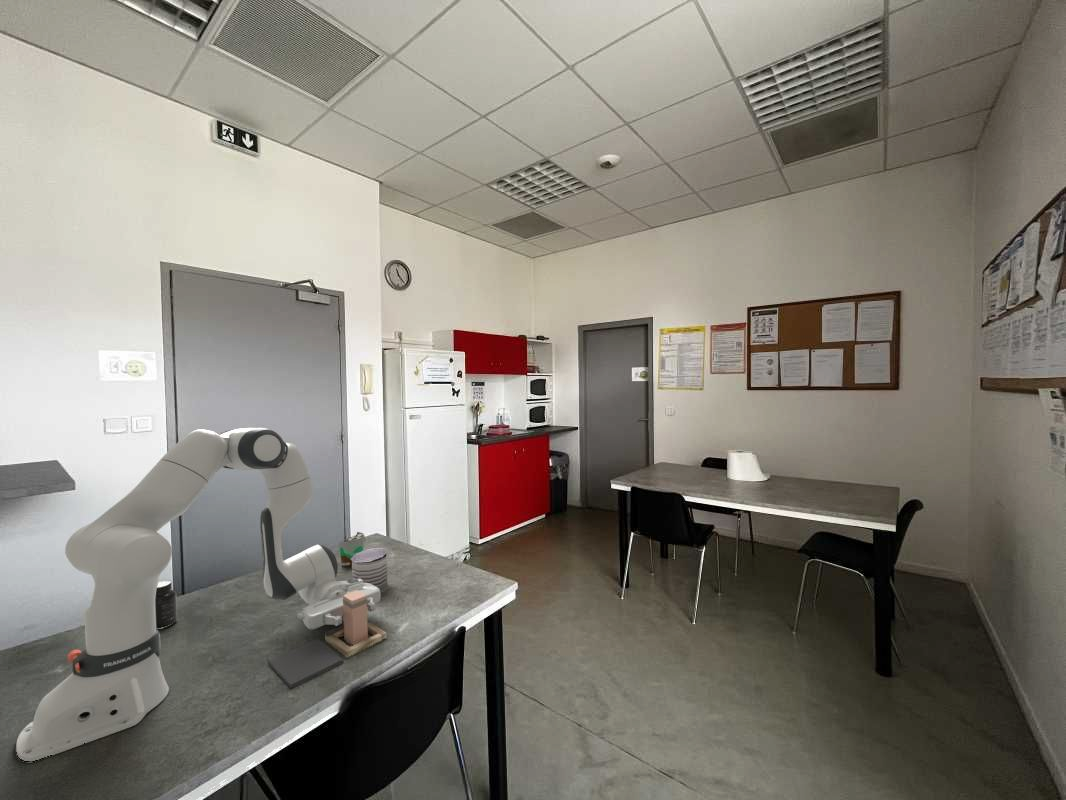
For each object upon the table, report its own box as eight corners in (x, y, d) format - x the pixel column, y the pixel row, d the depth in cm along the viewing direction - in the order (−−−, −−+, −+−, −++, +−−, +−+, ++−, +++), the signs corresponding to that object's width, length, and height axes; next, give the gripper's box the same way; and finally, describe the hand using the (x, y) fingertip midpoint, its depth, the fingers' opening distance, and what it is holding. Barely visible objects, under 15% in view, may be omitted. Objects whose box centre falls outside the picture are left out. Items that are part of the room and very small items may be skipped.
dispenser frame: (346, 658, 111) (346, 648, 111) (325, 640, 119) (325, 631, 118) (386, 638, 119) (386, 629, 119) (364, 623, 127) (363, 614, 127)
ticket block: (353, 646, 116) (351, 601, 115) (344, 639, 119) (342, 595, 119) (368, 639, 119) (366, 595, 118) (358, 632, 122) (357, 589, 122)
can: (381, 596, 143) (380, 559, 143) (346, 597, 143) (345, 560, 143) (392, 580, 154) (391, 546, 154) (360, 581, 154) (358, 547, 154)
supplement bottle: (140, 630, 126) (138, 588, 125) (165, 617, 132) (163, 577, 132) (159, 632, 124) (157, 590, 124) (183, 620, 131) (181, 579, 130)
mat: (290, 688, 100) (290, 684, 100) (268, 663, 109) (267, 660, 109) (342, 662, 109) (342, 659, 109) (317, 641, 118) (317, 638, 118)
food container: (354, 569, 165) (353, 543, 164) (339, 568, 166) (338, 542, 165) (372, 557, 177) (371, 532, 176) (358, 556, 178) (357, 531, 178)
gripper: (293, 602, 119) (316, 619, 110) (365, 576, 135) (390, 589, 125) (294, 625, 119) (317, 644, 110) (366, 596, 135) (391, 611, 126)
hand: (356, 614), depth 118 cm, fingers open, 8 cm apart
